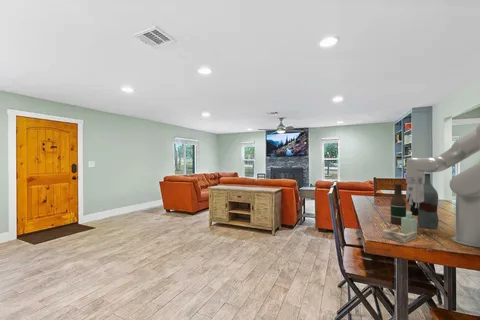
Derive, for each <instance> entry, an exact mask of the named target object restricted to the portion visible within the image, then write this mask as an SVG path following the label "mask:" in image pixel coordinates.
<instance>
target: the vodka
mask: <svg viewBox="0 0 480 320" xmlns="http://www.w3.org/2000/svg"><path fill="white" fill-rule="evenodd" d="M423 187H424V201H423V202H421V203H419V215H418V216H417V218H416V219H417V225H418V226H419V227H421V228H424V229H430V230H431V229H433V230H434V229H435V230H436V229H437V228H438V226H439V221H440V220H439V214H438V205H439V193H438V190H436V188H435V187H434V186H433V184H432V183H431V173H424V184H423Z"/></svg>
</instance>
